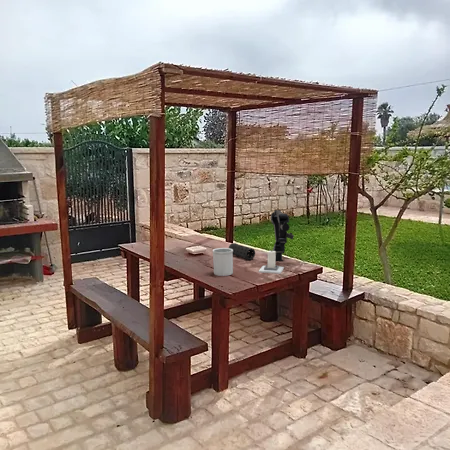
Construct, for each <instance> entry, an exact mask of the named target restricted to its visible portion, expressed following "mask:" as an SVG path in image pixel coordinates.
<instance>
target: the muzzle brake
mask: <svg viewBox="0 0 450 450" xmlns="http://www.w3.org/2000/svg"><path fill="white" fill-rule="evenodd" d="M228 248H230V249H233V256H236V257H241V258H242V259H245V260H249V261H252V260H253V259H254V258H255V256H256V250H255V249H254V248H251V247H248V246H244V245H241V244H238V243H233V242H232V243H231V244H229V245H228Z"/></svg>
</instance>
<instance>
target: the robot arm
mask: <svg viewBox="0 0 450 450" xmlns="http://www.w3.org/2000/svg"><path fill="white" fill-rule="evenodd" d="M289 217H290V216H289V215H288V214H287V213H283V211H282V210H280V209H275V210H274V211H273V212H272V213H271V215H270V217H269V219H270V221H271V224H272V225H273V228H274V230H273V231H274V238H275V239H274V240H275V242H274V245H273V249H272V251H276V260H275V262H283V261H284V260H283V254H285V250H286V246H285V245H286V244H287V243H288V239H290V240H293V239H294V237H295V236H294V234H293V233H292V232H290V233H289V232H288V231H289V230H290V227H291V226H290V225H289V223H290V218H289Z"/></svg>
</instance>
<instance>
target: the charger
mask: <svg viewBox="0 0 450 450" xmlns="http://www.w3.org/2000/svg"><path fill="white" fill-rule="evenodd" d="M275 260H276V251H273V250H268V251H267V265H268V268H275V265H276V261H275Z"/></svg>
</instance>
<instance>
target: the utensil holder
mask: <svg viewBox="0 0 450 450" xmlns="http://www.w3.org/2000/svg"><path fill="white" fill-rule="evenodd" d="M233 256H234V254H233V249H230V248H229V247H217V248H213V249H212V258H213V274H214V276H218V277H225V276H230V275H231V276H232V275H233V273H234V271H233V270H234V264H233V263H234V260H233V259H234V257H233Z"/></svg>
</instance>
